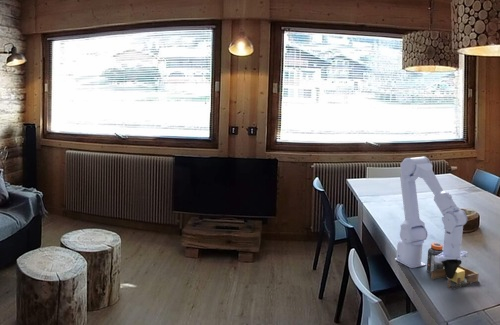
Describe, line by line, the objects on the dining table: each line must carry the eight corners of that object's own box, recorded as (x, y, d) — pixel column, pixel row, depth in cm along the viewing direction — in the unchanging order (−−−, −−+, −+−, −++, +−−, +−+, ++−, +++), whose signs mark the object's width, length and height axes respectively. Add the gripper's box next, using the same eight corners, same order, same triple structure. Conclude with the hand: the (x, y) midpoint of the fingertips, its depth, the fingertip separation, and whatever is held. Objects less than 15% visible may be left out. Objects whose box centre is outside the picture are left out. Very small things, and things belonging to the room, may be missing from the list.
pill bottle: (427, 267, 155) (429, 240, 153) (443, 270, 152) (446, 243, 150) (425, 272, 150) (427, 245, 148) (442, 276, 147) (444, 248, 145)
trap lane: (430, 278, 145) (431, 271, 145) (459, 272, 151) (459, 265, 150) (451, 289, 137) (451, 281, 136) (480, 282, 142) (481, 274, 142)
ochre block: (447, 278, 145) (448, 268, 145) (454, 276, 147) (455, 266, 146) (456, 282, 142) (457, 272, 141) (464, 280, 144) (465, 270, 143)
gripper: (447, 249, 134) (443, 285, 137) (476, 243, 140) (473, 278, 142) (430, 242, 141) (428, 277, 143) (459, 237, 146) (456, 271, 148)
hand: (449, 277), depth 143 cm, fingers closed
